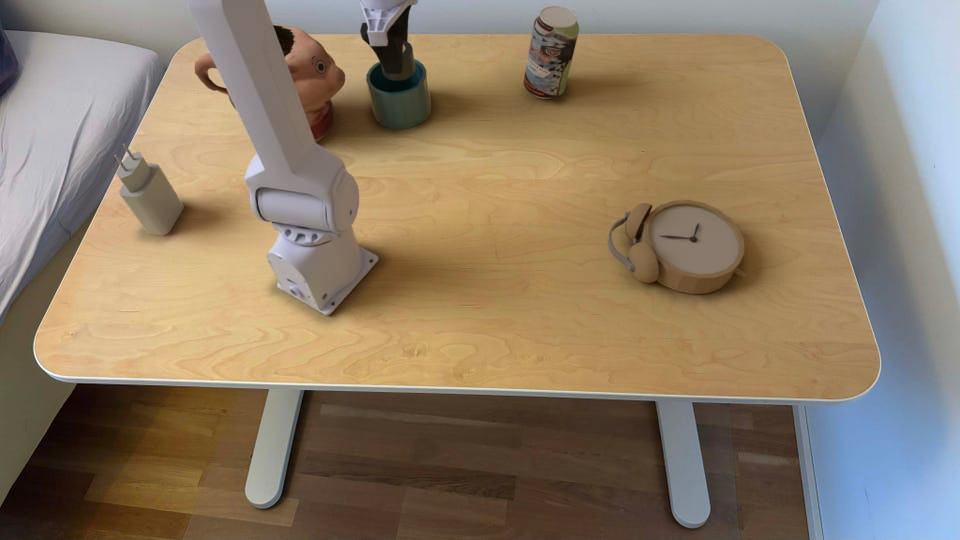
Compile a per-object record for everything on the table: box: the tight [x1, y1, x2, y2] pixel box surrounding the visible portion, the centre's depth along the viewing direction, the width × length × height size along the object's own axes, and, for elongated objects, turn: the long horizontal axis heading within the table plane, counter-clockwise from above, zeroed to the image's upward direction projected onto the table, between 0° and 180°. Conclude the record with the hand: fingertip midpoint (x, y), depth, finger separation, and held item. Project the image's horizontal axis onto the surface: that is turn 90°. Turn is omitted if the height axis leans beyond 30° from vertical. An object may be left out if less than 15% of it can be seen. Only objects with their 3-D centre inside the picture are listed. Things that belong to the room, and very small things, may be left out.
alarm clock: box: [607, 199, 747, 295], centre depth 76 cm, size 11×5×15 cm
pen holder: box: [365, 58, 432, 130], centre depth 92 cm, size 8×8×6 cm
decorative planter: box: [194, 23, 346, 143], centre depth 88 cm, size 20×12×14 cm, turn 90°
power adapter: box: [114, 143, 185, 236], centre depth 80 cm, size 3×5×12 cm, turn 169°
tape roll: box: [381, 40, 416, 81], centre depth 87 cm, size 4×4×3 cm
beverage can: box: [523, 5, 580, 100], centre depth 91 cm, size 6×7×12 cm
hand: (396, 60), depth 87 cm, fingers closed on tape roll, 4 cm apart
